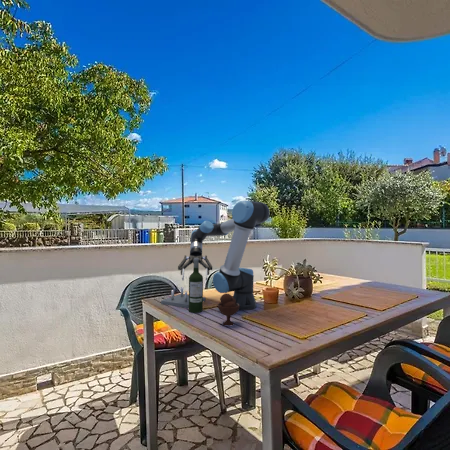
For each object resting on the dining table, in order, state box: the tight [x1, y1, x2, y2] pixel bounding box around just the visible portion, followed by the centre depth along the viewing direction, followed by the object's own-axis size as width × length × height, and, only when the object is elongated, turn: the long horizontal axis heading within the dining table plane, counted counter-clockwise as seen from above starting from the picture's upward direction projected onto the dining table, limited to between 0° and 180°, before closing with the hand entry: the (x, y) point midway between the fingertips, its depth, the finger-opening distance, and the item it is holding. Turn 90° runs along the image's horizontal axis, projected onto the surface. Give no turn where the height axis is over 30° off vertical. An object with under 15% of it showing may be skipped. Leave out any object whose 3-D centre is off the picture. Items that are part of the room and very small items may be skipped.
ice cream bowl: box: [217, 293, 240, 326], centre depth 142 cm, size 11×11×15 cm
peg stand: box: [160, 286, 207, 309], centre depth 183 cm, size 20×20×8 cm
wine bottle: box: [188, 258, 204, 314], centre depth 164 cm, size 8×8×30 cm
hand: (194, 279), depth 166 cm, fingers open, 13 cm apart
